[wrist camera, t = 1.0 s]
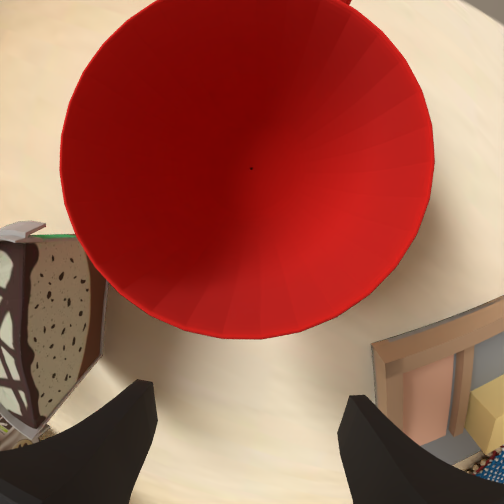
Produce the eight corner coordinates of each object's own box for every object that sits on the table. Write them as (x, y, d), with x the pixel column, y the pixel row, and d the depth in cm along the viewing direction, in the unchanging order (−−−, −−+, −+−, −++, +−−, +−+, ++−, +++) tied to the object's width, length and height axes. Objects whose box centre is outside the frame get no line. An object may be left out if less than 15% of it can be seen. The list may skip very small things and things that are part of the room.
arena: (516, 424, 21) (529, 438, 18) (377, 489, 23) (383, 510, 20) (540, 277, 19) (561, 284, 16) (370, 343, 20) (384, 363, 17)
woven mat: (527, 445, 22) (534, 453, 20) (470, 499, 23) (475, 509, 21) (505, 430, 21) (513, 441, 19) (436, 494, 23) (441, 506, 21)
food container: (52, 197, 20) (-52, 202, 10) (119, 214, 20) (16, 227, 10) (42, 344, 22) (-34, 398, 12) (102, 371, 22) (33, 446, 12)
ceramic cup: (407, 88, 17) (489, 26, 8) (295, 309, 20) (318, 399, 10) (238, 6, 17) (221, -93, 7) (119, 216, 20) (16, 231, 10)
